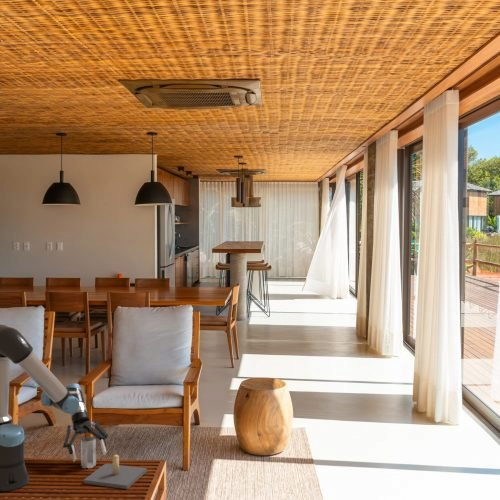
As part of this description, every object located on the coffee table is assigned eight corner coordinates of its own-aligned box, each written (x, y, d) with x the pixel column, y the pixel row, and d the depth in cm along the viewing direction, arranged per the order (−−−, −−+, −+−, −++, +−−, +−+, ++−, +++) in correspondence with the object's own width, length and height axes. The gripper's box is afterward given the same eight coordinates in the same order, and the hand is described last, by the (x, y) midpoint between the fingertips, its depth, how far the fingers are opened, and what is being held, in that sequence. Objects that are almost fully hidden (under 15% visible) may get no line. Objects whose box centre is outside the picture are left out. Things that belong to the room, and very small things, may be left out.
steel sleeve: (78, 467, 252) (78, 440, 252) (86, 462, 258) (86, 436, 258) (90, 469, 251) (90, 442, 250) (98, 463, 256) (97, 437, 256)
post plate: (83, 483, 236) (83, 460, 236) (105, 466, 253) (105, 445, 253) (127, 489, 231) (127, 465, 230) (146, 471, 248) (146, 449, 248)
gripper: (103, 414, 274) (114, 454, 262) (50, 423, 260) (60, 467, 247) (107, 406, 269) (119, 446, 257) (53, 415, 255) (63, 458, 243)
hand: (90, 456), depth 252 cm, fingers open, 13 cm apart
